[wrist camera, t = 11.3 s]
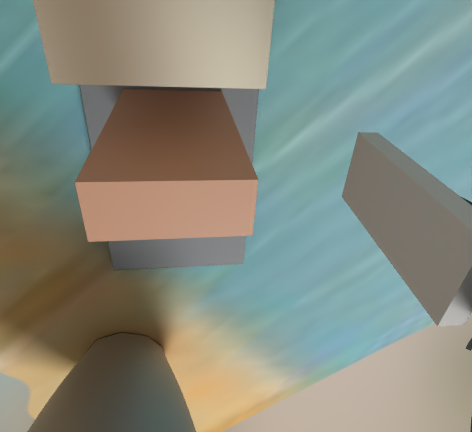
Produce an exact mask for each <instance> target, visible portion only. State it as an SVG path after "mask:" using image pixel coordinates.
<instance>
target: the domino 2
mask: <svg viewBox="0 0 472 432" xmlns="http://www.w3.org/2000/svg"><path fill="white" fill-rule="evenodd" d="M75 185H76V189H77V194H78V198H79V203H80V207H81V212H82V217H83V221H84V226H85V230H86V235H87V239H88V242H98V241H125V240H151V239H178V238H204V237H230V236H253V227H254V217H255V207H256V197H257V187H258V178H257V175H256V173H255V171H254V168H253V166H252V163H251V161H250V158H249V156H248V154H247V151H246V149H245V146H244V144H243V141H242V139H241V137H240V134H239V132H238V129H237V127H236V124H235V122H234V120H233V117H232V115H231V112H230V110H229V107H228V105H227V103H226V100H225V98H224V95H223V93H222V91H179V90H135V89H123V90H122V92H121V94H120V96H119V98H118V100H117V102H116V104H115V106H114V108H113V110H112V112H111V113H110V115H109V117H108V119H107V121H106V123H105V125H104V127H103V129H102V131H101V133H100V135H99V137H98V139H97V141H96V143H95V145H94V146H93V148H92V150H91V152H90V154H89V156H88V158H87V160H86V162H85V164H84V166H83V168H82V170H81V172H80V174H79V176H78V177H77V179H76V181H75Z"/></svg>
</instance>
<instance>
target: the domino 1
mask: <svg viewBox="0 0 472 432" xmlns="http://www.w3.org/2000/svg"><path fill="white" fill-rule="evenodd" d="M33 2H34V7H35V11H36V16H37V20H38V25H39V29H40V34H41V38H42V43H43V48H44V52H45V57H46V61H47V66H48V70H49V75H50V79H51V84H77V85H118V86H159V87H200V88H240V89H266V84H267V74H268V64H269V54H270V44H271V34H272V24H273V13H274V3H275V0H33Z"/></svg>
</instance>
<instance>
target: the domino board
mask: <svg viewBox="0 0 472 432" xmlns="http://www.w3.org/2000/svg"><path fill="white" fill-rule="evenodd" d="M80 89H81V95H82V100H83V106H84V111H85V117H86V123H87V128H88V134H89V139H90V145H91V150H92V148H93V146H94V145H95V143H96V141H97V139H98V137H99V135H100V133H101V131H102V129H103V127H104V125H105V123H106V121H107V119H108V117H109V115H110V113H111V112H112V110H113V108H114V106H115V104H116V102H117V100H118V98H119V96H120V94H121V92H122V90H123V89H135V90H179V91H222V93H223V95H224V98H225V100H226V103H227V105H228V107H229V110H230V112H231V115H232V117H233V120H234V122H235V124H236V127H237V129H238V132H239V134H240V137H241V139H242V141H243V144H244V146H245V149H246V151H247V154H248V156H249V158H250V161H251V163H252V161H253V150H254V138H255V127H256V116H257V104H258V93H259V89H240V88H200V87H159V86H118V85H80ZM245 240H246V236H230V237H204V238H178V239H151V240H125V241H108V245H109V250H110V256H111V261H112V267H113V270H128V269H148V268H169V267H189V266H209V265H229V264H243V262H244V251H245Z"/></svg>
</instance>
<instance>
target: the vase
mask: <svg viewBox="0 0 472 432" xmlns="http://www.w3.org/2000/svg"><path fill="white" fill-rule="evenodd" d="M28 432H196V430H195V427H194V424H193V421H192V418H191V415H190V413H189V410H188V407H187V404H186V402H185V399H184V397H183V394H182V392H181V389H180V387H179V384H178V382H177V380H176V378H175V375H174V373H173V371H172V369H171V367H170V365H169V363H168V361H167V359H166V357H165V354H164V351H163V347H161V346H160V345H159V344H157V343H156V342H154V341H153V340H152V339H150V338H149V337H147V336H144V335H136V334H127V333H118V334H115V335H111V336H108V337H105V338H101V339H98V340H96V342H95V343H94V344H93V345H92V346H91V347H90V349H89V350H88V351H87V352H86V353H85V355H84V356H83V357H82V358H81V359H80V360H79V362H78V363H77V364H76V365H75V366H74V368H73V369H72V370H71V371H70V373H69V374H68V375H67V376H66V378H65V379H64V380H63V382H62V383H61V384H60V385H59V387H58V388H57V390H56V391H55V392H54V394H53V395H52V396H51V398H50V399H49V401H48V402H47V404H46V405H45V406H44V408H43V409H42V411H41V412H40V414H39V415H38V417H37V418H36V420H35V422H34V423H33V424H32V426H31V427H30V429H29V430H28Z"/></svg>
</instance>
